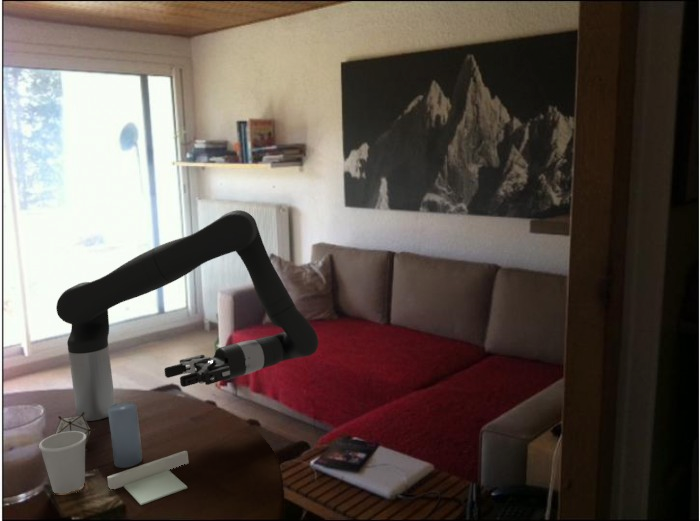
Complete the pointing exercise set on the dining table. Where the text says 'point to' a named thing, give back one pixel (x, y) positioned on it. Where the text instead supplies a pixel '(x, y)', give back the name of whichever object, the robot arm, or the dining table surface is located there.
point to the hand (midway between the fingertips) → (172, 377)
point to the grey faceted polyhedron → (74, 426)
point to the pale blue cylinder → (125, 434)
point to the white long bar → (147, 470)
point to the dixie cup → (65, 460)
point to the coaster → (155, 487)
